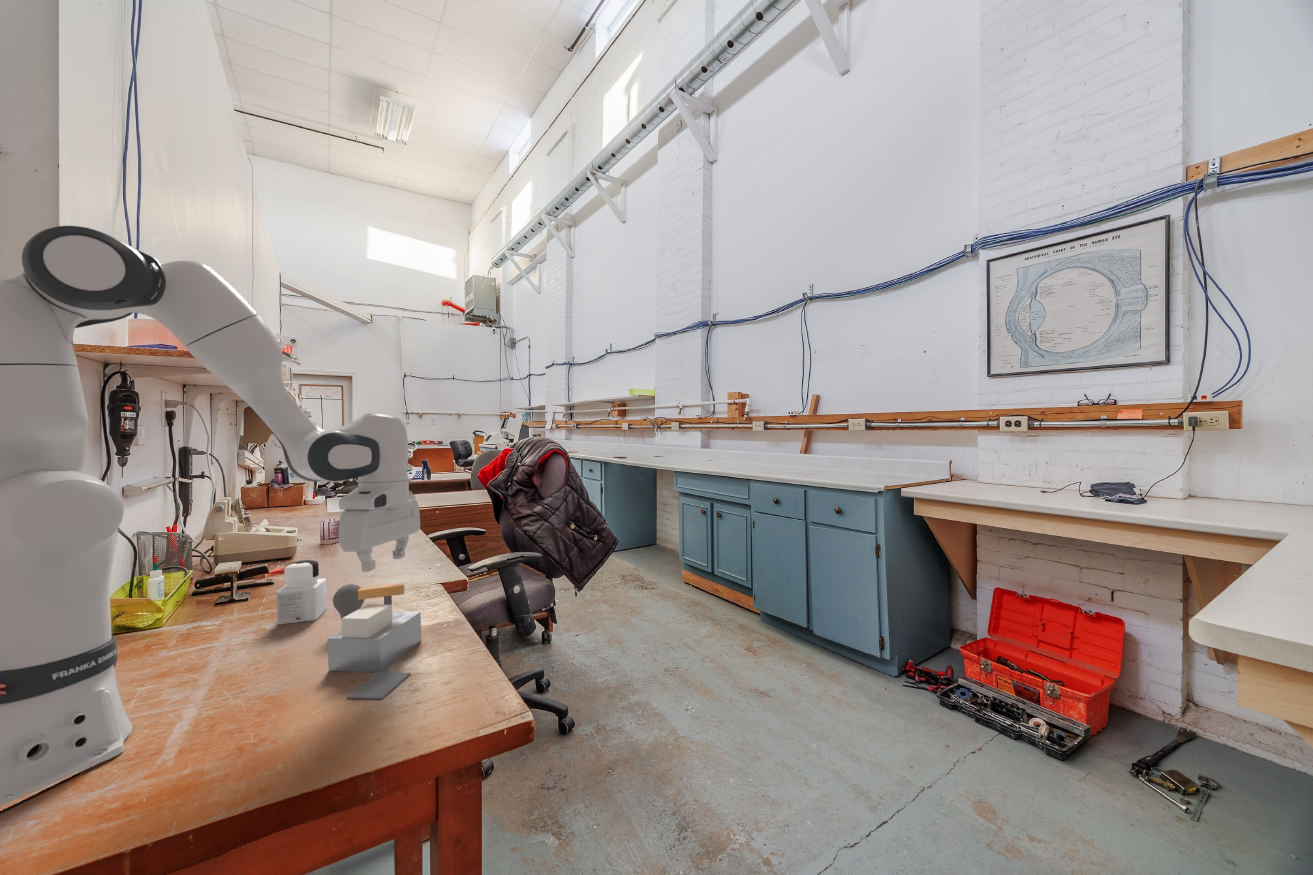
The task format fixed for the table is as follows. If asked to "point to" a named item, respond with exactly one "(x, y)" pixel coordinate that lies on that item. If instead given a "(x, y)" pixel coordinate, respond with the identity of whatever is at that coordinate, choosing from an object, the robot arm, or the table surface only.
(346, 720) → the table surface
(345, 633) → the cream white box
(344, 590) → the light bulb
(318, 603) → the container
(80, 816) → the table surface
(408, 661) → the table surface
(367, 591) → the t key
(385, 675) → the mat
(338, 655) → the box
